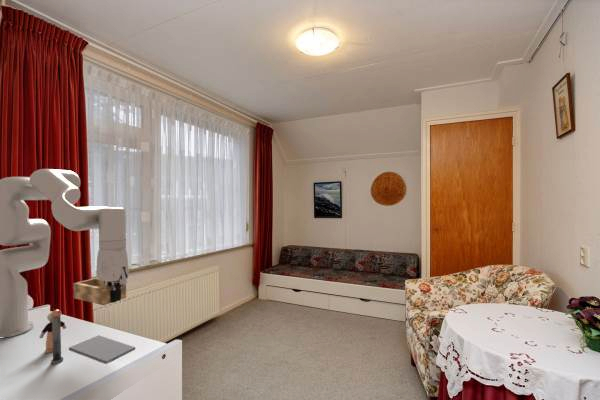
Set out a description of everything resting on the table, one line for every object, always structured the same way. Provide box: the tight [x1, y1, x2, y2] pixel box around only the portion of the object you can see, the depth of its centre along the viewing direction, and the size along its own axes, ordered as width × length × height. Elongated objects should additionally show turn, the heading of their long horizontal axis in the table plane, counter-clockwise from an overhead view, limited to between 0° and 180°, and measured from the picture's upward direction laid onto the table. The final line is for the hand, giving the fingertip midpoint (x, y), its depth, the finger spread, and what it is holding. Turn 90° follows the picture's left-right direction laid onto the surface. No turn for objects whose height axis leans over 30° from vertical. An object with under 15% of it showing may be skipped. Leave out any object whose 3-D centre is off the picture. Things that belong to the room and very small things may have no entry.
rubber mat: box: [68, 334, 136, 364], centre depth 102 cm, size 20×10×1 cm, turn 65°
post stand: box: [50, 309, 64, 365], centre depth 94 cm, size 3×3×16 cm
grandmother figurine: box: [39, 311, 67, 354], centre depth 102 cm, size 8×4×13 cm, turn 168°
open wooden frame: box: [72, 277, 127, 306], centre depth 102 cm, size 16×8×5 cm, turn 65°
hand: (113, 300), depth 99 cm, fingers closed on open wooden frame, 1 cm apart
